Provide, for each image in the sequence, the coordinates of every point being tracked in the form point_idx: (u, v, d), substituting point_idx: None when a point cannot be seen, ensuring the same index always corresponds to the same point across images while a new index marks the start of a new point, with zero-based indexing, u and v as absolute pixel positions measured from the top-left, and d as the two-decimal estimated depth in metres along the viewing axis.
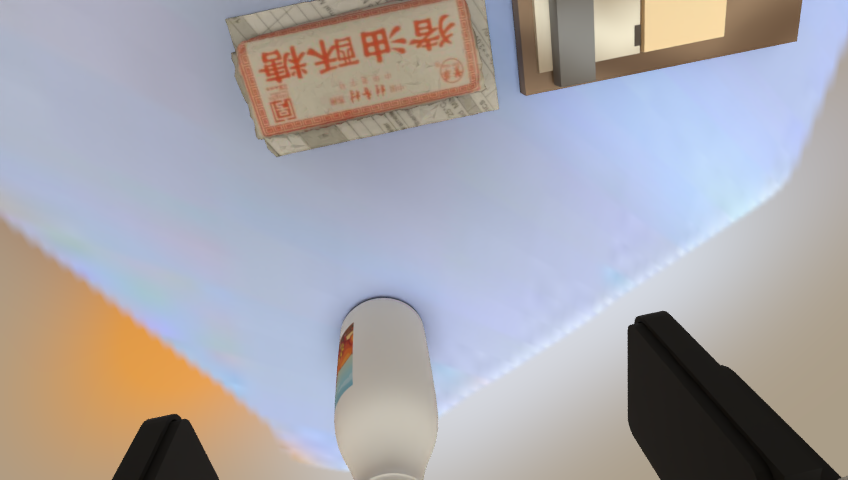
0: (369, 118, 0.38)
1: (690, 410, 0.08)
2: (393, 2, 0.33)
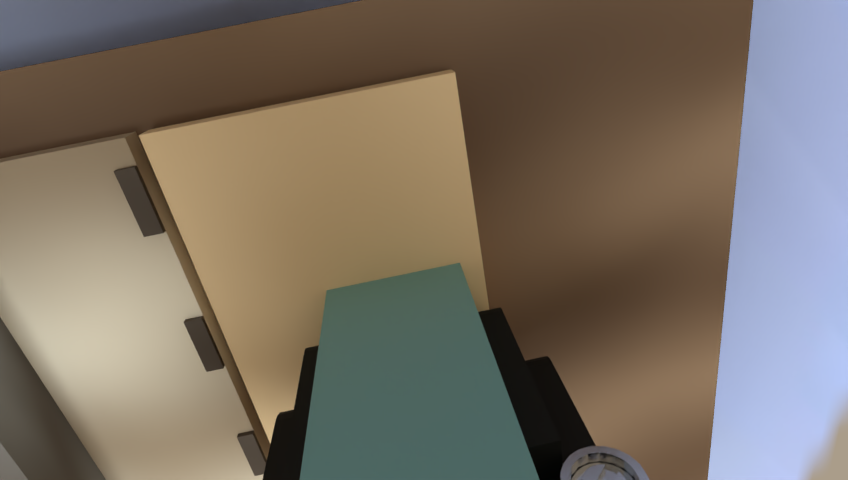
0: None
1: None
2: None
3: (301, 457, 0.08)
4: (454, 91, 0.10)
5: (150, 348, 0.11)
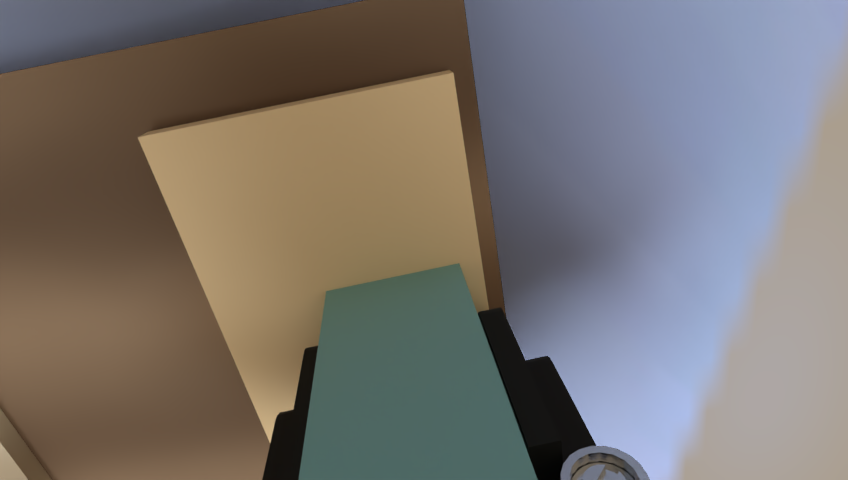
0: None
1: None
2: None
3: (301, 457, 0.08)
4: (452, 92, 0.10)
5: None
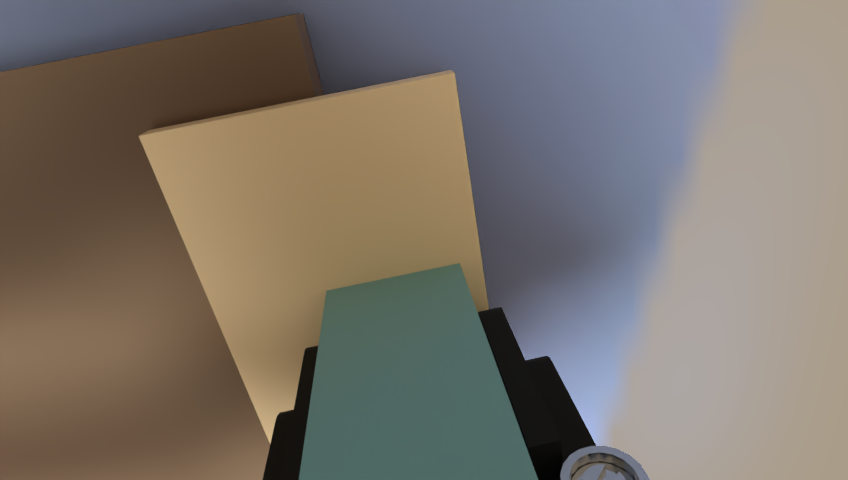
0: None
1: None
2: None
3: (301, 457, 0.08)
4: (453, 91, 0.10)
5: None
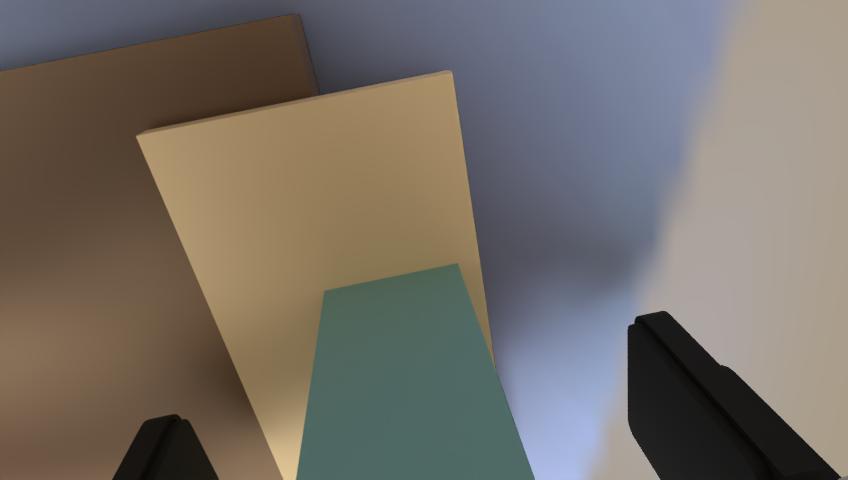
0: None
1: (690, 410, 0.08)
2: None
3: None
4: (451, 92, 0.10)
5: None
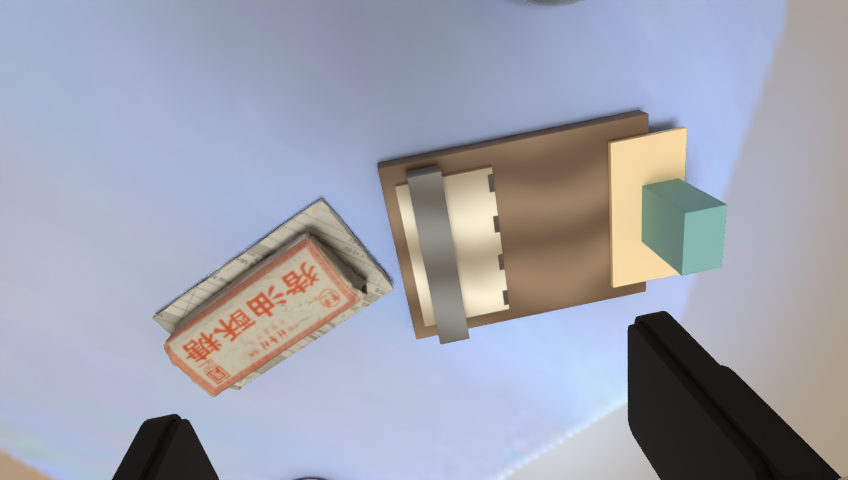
0: None
1: (690, 410, 0.08)
2: (262, 265, 0.39)
3: None
4: (686, 132, 0.39)
5: (481, 225, 0.40)
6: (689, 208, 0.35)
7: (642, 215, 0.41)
